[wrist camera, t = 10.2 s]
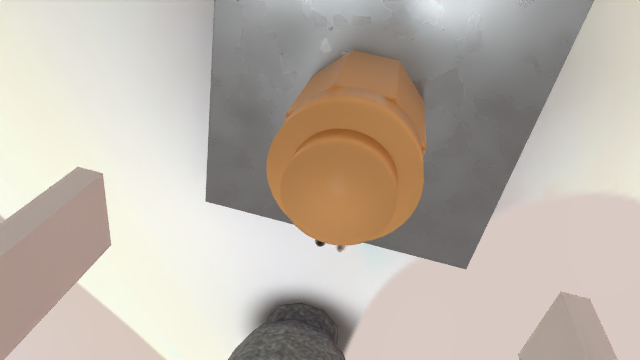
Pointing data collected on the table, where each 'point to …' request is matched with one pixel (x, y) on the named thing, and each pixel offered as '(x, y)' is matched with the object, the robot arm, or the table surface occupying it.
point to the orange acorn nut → (351, 151)
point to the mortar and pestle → (292, 336)
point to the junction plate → (426, 74)
